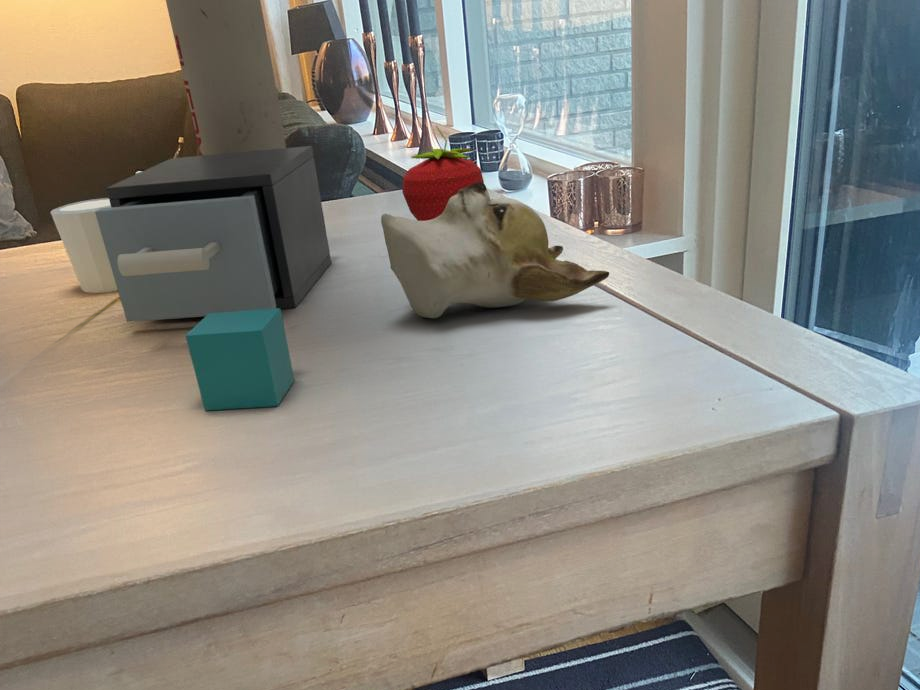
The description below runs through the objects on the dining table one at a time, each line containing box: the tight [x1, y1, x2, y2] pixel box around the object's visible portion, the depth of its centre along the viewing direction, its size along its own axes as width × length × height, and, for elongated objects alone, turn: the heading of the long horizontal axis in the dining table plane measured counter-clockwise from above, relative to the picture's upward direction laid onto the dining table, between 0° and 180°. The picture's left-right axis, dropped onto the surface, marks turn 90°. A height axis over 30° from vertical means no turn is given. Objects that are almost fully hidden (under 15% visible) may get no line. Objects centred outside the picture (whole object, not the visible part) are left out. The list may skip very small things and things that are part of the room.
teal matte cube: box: [185, 308, 295, 411], centre depth 57 cm, size 4×4×4 cm
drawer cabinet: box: [105, 145, 332, 310], centre depth 79 cm, size 15×13×10 cm
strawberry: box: [401, 125, 485, 221], centre depth 84 cm, size 6×8×10 cm
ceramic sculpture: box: [380, 182, 610, 319], centre depth 68 cm, size 11×9×15 cm
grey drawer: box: [95, 186, 282, 323], centre depth 73 cm, size 18×11×8 cm, turn 176°
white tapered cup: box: [50, 197, 118, 294], centre depth 84 cm, size 7×7×7 cm
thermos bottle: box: [165, 0, 287, 156], centre depth 86 cm, size 8×8×28 cm
